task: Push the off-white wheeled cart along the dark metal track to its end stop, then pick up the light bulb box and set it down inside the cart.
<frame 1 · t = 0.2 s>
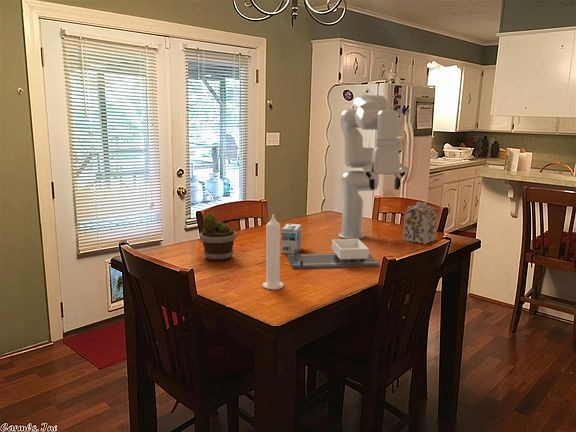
hand: (384, 189, 183), 30 cm above the table, tool pointing down, fingers open, 9 cm apart
decorative jar: (419, 240, 227), on the table
candle: (273, 286, 164), on the table
flowerpot: (218, 258, 196), on the table
track: (331, 261, 193), on the table
light bulb box: (291, 251, 207), on the table
cart: (349, 250, 193), point 4 cm above the table, slide at 14.0 cm
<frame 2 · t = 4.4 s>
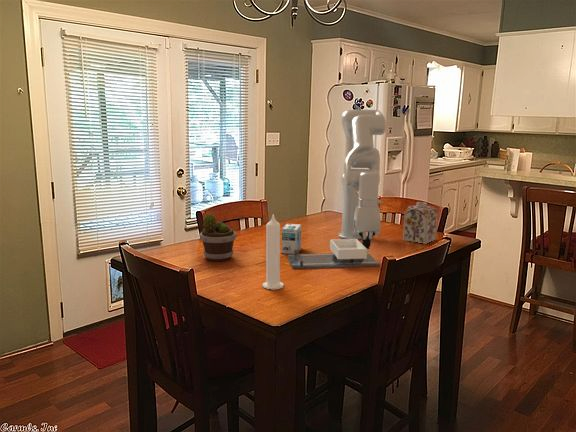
hand: (366, 248, 193), 5 cm above the table, tool pointing down, fingers closed
cart: (347, 250, 192), point 4 cm above the table, slide at 13.3 cm, touching gripper
everything else where it was.
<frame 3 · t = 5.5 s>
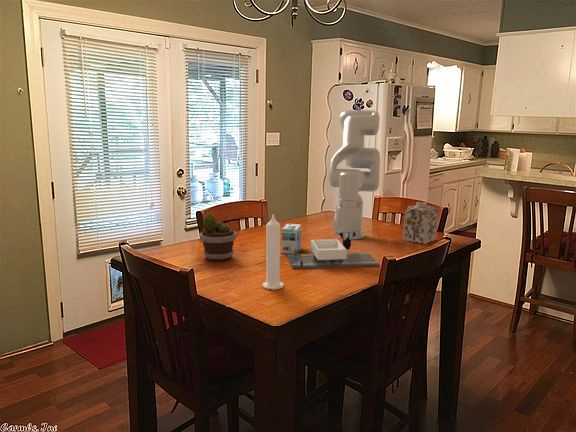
hand: (346, 248, 192), 5 cm above the table, tool pointing down, fingers closed
cart: (328, 251, 191), point 4 cm above the table, slide at 5.3 cm, touching gripper
everything else where it was.
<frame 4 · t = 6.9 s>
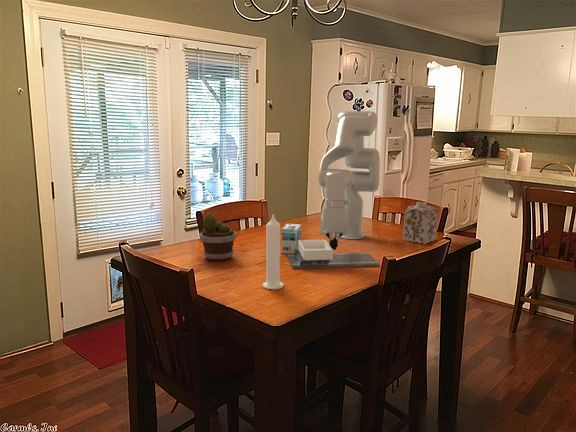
hand: (333, 249, 191), 5 cm above the table, tool pointing down, fingers closed
cart: (314, 251, 191), point 4 cm above the table, slide at 0.0 cm, touching gripper
everything else where it was.
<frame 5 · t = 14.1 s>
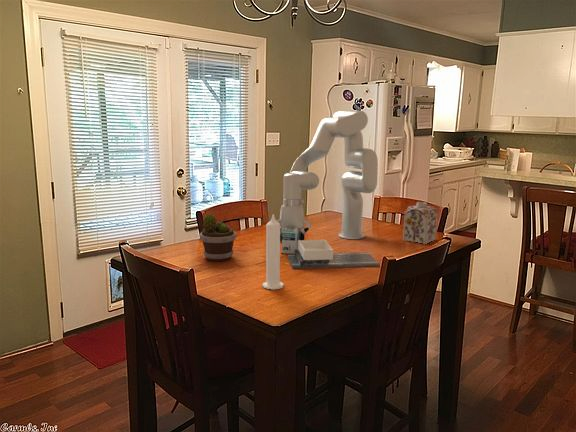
hand: (291, 242, 207), 4 cm above the table, tool pointing down, fingers closed on light bulb box, 8 cm apart
light bulb box: (291, 251, 207), on the table, touching gripper
cart: (314, 251, 191), point 4 cm above the table, slide at 0.0 cm
everything else where it was.
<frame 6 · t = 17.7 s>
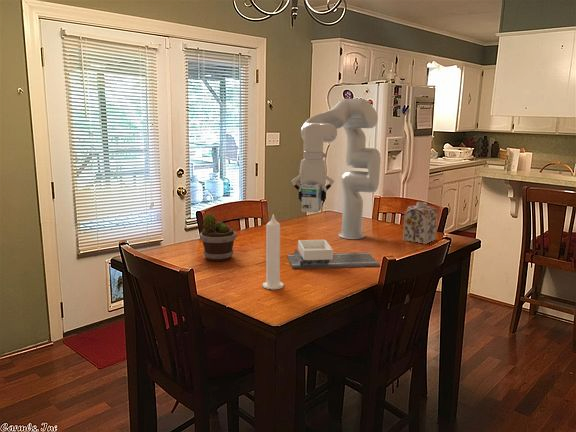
hand: (312, 201, 189), 24 cm above the table, tool pointing down, fingers closed on light bulb box, 8 cm apart
light bulb box: (311, 210, 190), point 20 cm above the table, touching gripper
everything else where it was.
when the fingers open (9 cm above the table, at t = 21.4 s): light bulb box drops 2 cm, resting on cart.
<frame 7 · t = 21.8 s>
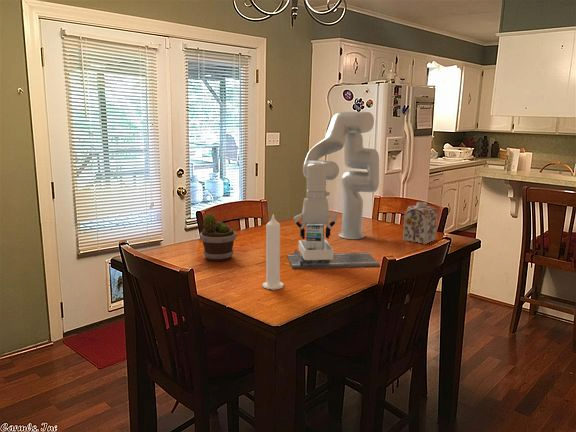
hand: (315, 238, 190), 10 cm above the table, tool pointing down, fingers open, 9 cm apart
light bulb box: (314, 252, 191), point 4 cm above the table, touching cart
cart: (315, 251, 191), point 4 cm above the table, slide at 0.2 cm, touching light bulb box
everything else where it was.
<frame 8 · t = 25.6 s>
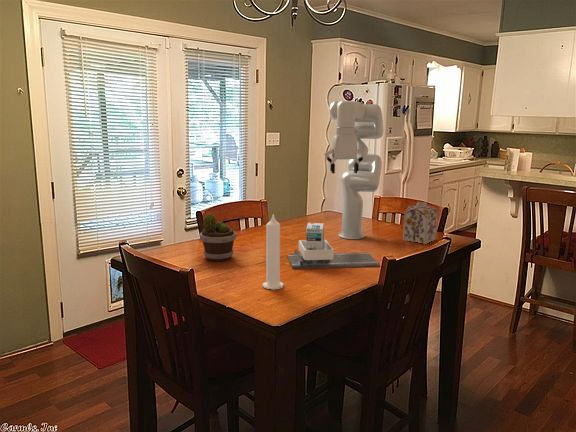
hand: (344, 173, 203), 33 cm above the table, tool pointing down, fingers open, 9 cm apart
nothing on the table moved.
at the end: cart slide at 0.2 cm; light bulb box inside the target area (0.2 cm from its centre), point 3.8 cm above the table; light bulb box tilted 0° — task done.
